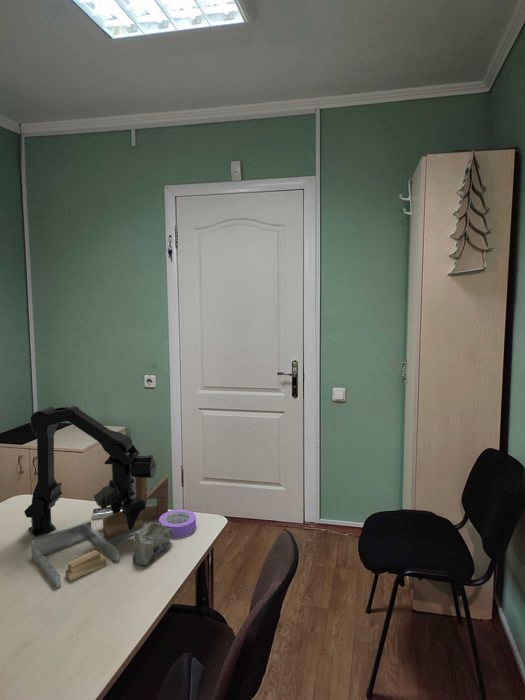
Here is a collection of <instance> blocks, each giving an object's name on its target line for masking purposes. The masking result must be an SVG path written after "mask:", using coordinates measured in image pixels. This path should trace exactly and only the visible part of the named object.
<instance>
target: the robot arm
mask: <svg viewBox="0 0 525 700" xmlns="http://www.w3.org/2000/svg"><path fill="white" fill-rule="evenodd" d="M65 422H68V423H70V424H72V425H73V426H74V427H76V428H78V429H79V430H81V432H83V433H85V434H86V435H88V436H89V437H91V438H92V439H94V440H95V441H97V442H98V443H99V444H100V445H101V447H102V449H103V451H104V452H106V454H108V455H109V457H108V458H107V460H105V461H104V465H111V479H109V481H108V485H106V486H103V487H102V489H101V490H100V491H97V493H95V494H94V495H93V499H94V501H95V503H96V505H97V506H99V508H102V509H103V508H106V507H111V509H112V512H113V514H115V513H117V512H120V511H121V506H122V510H123V512H122V513H124V514H125V515H126V517H127V523H128V528H129V530H131V529H133V527H134V525H135V522H136V520H137V518H138V516H139V514H140V512H141V511H143V510H144V509H145V508H146V502H145V501H143V500H142V499H140V498H138V497H136V498H135V497H132V496H135V491H134V490H132V486H133V485H132V484H134V483H135V479H136V478H147V479H153V478H155V475H156V472H157V471H156V470H157V463H156V460H155V459H154V455H151V454H149V455H140V452H139V451H138V449H137V448H136V446H135V445H134V444H133V440H132V438H130V436H128V435H127V434H124V433H121V432H119V431H114V430H111V429H110V428H108V427H106V426H105V425H103V424H102V423H100V422H98V421H97V420H96V419H94V418H93V417H92V416H90V415H88V414H87V413H85V412H84V411H83V410H81V409H80V408H79V407H78V406H76V405H70V406H62V407H56V408H55V407H53V406H46V407H44V408H42V409H40V410H37V411H35V412H33V414H31V415H30V425H31V430H32V433H33V435H34V436H35V437H36V460H37V461H36V463H37V465H36V466H37V472H36V473H37V475H36V477H37V483H36V485H35V487H34V490H33V492H32V498H31V503H30V505H28V507H27V508H25V510H23V513H24V515H25V517H26V518H30V519H31V526H29V527H28V529H27V530H28V531H29V532H30V533H31V534H32V536H33V537H37V536H40V535H44V534H46V533H50V532H53V531H55V530H56V529H57V527H56V526H55V525H54V524H53V523H52V510H51V509H52V508H53V507H55V506H56V502H58V501H59V499H60V498H61V495H62V494H63V493H62V482H58V481H56V479H55V439H54V438H55V433H56V432H57V429H58V427H59V423H65ZM128 453H129V454H128ZM127 454H128V455H127ZM132 477H134V478H135V479H134V478H132Z"/></svg>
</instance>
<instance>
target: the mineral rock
mask: <svg viewBox="0 0 525 700" xmlns="http://www.w3.org/2000/svg"><path fill="white" fill-rule="evenodd" d="M146 525H147V526H145V527H144V528H142V529H141V530H139V531H137V532H136V533H135V535H133V539H134V550H133V551H132V556H133V557H132V560H133V562H136V564H137V565H140V566H146V565H148V564H149V563H150V561H152V560H153V559H154V558H155V557H156V556H157V555H158V554H160V553H161V552H162V551H163V550H164V549H166V548H167V547H168V546H169V543H170V542H171V541H170V540H171V538H170V537H171V535H172V529H171V528H169V529H168V528H166V527H165V526H164V525H162V524H160V523H159V522H152V521H149V522H148V524H146Z"/></svg>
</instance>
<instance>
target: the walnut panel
mask: <svg viewBox="0 0 525 700" xmlns="http://www.w3.org/2000/svg"><path fill="white" fill-rule="evenodd" d="M122 512H123V511H120V512H117V513H115V514H112V515H109V516H106V517H103V519H102V528H103V529H102V530H103V531H102V532H103V534H104V537H105V538H106V539H108V540H109V539H111V538H114V537H116V536H119V535H121V534H124V533H126V532H129V531H131V530H134V529H136V528H139V527H141V526H143V523H144V520H143V511H141V512H140V514H139V516H138V518H137V520H136V522H135V525H134V527H133V529H131V530H129V528H128V523H127V517H126V515H125V514H124V513H122Z"/></svg>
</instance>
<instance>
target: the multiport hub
mask: <svg viewBox="0 0 525 700" xmlns="http://www.w3.org/2000/svg"><path fill="white" fill-rule="evenodd" d="M121 511H123V510H122V506H121ZM91 514H92V515H91V516H92V517H91V519H92V521H94V520H95V521H96V520H103V517H106V516H109V515H112V514H113V512H112V509H111V507H110V506H107V507H106V508H103V509H102V508H101V507H99V508H93V509H92V513H91Z"/></svg>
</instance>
